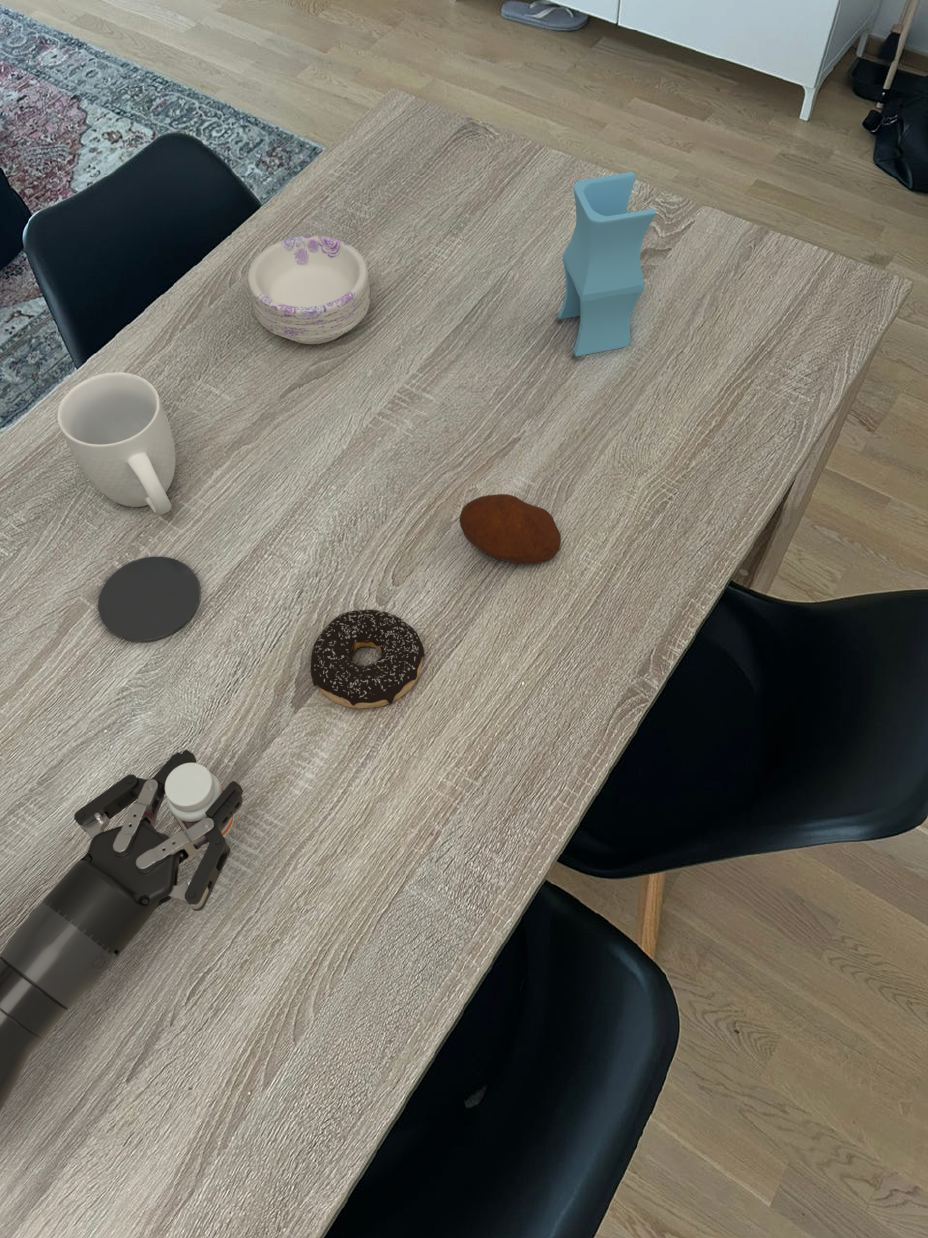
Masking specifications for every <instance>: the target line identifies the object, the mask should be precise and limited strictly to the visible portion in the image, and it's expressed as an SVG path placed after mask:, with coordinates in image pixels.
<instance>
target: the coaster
mask: <svg viewBox="0 0 928 1238" xmlns="http://www.w3.org/2000/svg"><path fill="white" fill-rule="evenodd" d="M200 586H201V585H200V583H199V580H198V578H197V575H196V574H195V573H194V571H193V570H192V569H191V568H190V567H189V566H188V565H186V564H185V563H183V562H182V561H180V560H178V559H175V558H171V557H167V556H146V557H142V558H139V559H136V560H133V561H130V562H128V563H126V564H125V565H122V566H121V567H120V568H118V569H117V570H115V572H113V573H112V574H111V575H110V576H109V577H108V579H107V580H106V581H105V583H104V584H103V585H102V588H101V590H100V593H99V596H98V601H97V607H98V609H97V611H98V614H99V617H100V618H99V619H100V620H101V622H102V624H103V625H104V626H105V628H106V629H107V630H108V631H109V632H110V633H111V634H113V635H114V636H115V637H117V638H119V639H121V640H124V641H128V642H131V643H153V642H156V641H157V642H158V641H160V640H163V639H166V638H169V637H170V636H173V635H174V634H176V633H178V632H179V631H180V630H182V629H183V628H184V627H185V626H187V625H188V624H189V622H190V621H191V620H192V619H193V617H194V616H195V614H196V612H197V610H198V608H199V604H200V601H201V587H200Z"/></svg>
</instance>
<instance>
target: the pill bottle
mask: <svg viewBox="0 0 928 1238" xmlns="http://www.w3.org/2000/svg"><path fill="white" fill-rule="evenodd" d="M224 790H225V789H224V788H223V786H222V784H221V782H220V780H219V778H218V777H217V776H216V775H215V774H213V773H212V772H210V771H209V769H208V768H207V767H206V766H204V765H202V763H201V764H200V763H197V762H196V763H185V764H182V765H180V766H178V767H176V768H175V769H174V770H173V771H172V772H171V773H170V774H169V775H168V777H167V779H166V782H165V797H166V805H167V808H168V810H169V812H170V814H171V815H172V816H173V818H174V819H175V821H176V822H177V824H178V825H179V828H180V829H181V831H182V830H187V829H189V828H190V827H192V826H193V825H195V824H196V823H198V822H199V821H201V820H202V819H204V818H206V817H207V816H206V814H205V812H206V811H207V810H208V809H209V808H210V806H211V805H212V804H213V803H214V802H215V800H216V799H217V798H218V797H219V796H220V794H221V793H222V792H223V791H224ZM234 821H235V814H234V815H233V816H232V817H231V818H230V820H229V821H228V822H227V823H226V824H225V826H224V827H223V829H222V836H223V837H224V838H225V837H226V836H227V835H228V834H229V832H230V831H231V829H232V828H233V825H234Z"/></svg>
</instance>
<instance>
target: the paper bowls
mask: <svg viewBox="0 0 928 1238" xmlns="http://www.w3.org/2000/svg"><path fill="white" fill-rule="evenodd" d="M247 286H248V289H249V290H248V291H249V297H250V301H251V307H252V309H253V312H254V315H255V317H256V319H257V321H258V322H259V323H260V324H261V325H262V327H264V328H265V329H266V330H268V331H269V332H271V333H272V334H274V335H276V336H280V337H282V338H285V339H287V340H290V341H293V342H295V343H298V344H303V345H321V344H325V343H329V342H332V341H334V340H337V339H338V338H339V337H341V336H343V335H344V334H345V333H348V332H349V331H351V330H352V329H354V328H355V327H356V326H358V324H360V323H361V322H362V320H363V319H364V318H365V317H366V316H367V314H368V312H369V308H370V305H371V289H370V278H369V270H368V265H367V263H366V260H365V258H364V257H363V256H362V254H361V253H360V252H359V251H358V250H357V249H356V248H355V247H353V246H352V245H351V244H349V243H347V242H346V241H343V240H340V239H338V238H334V237H331V236H325V235H324V236H323V235H300V236H293V237H290V238H286V239H283V240H280V241H277V242H275V243H273V244H271V245H270V246H268V247H266V248H264V249H263V250H262V251H261V252H260V253H258V254H257V256H256V257H255V258H254V259H253V261H251V265H250V266H249V269H248V271H247Z"/></svg>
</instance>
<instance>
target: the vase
mask: <svg viewBox="0 0 928 1238" xmlns="http://www.w3.org/2000/svg"><path fill="white" fill-rule="evenodd" d="M636 177H637V176H636V173H635V172H634V171H628V172H622V173H617V174H610V175H604V176H599V177H592V178H586V179H582V180H579V181H577V182H576V183H575V184H574V185H573V196H574V202H575V216H576V218H575V227H574V230H573V233H572V237H571V239H570V240H569V242H568V245H567V247H566V248H565V250H564V252H563V255H562V263H563V269H564V276H565V277H564V278H565V293H564V298H563V302H562V305H561V308H560V309H559V312H558V314H557V317H558V319H559V320H565V319H571V318H575V317H580V318H579V326H578V331H577V337H576V340H575V346H574V349H573V354H574V356H575V357H580V356H586V355H592V354H597V353H603V352H606V351H607V352H608V351H613V350H617V349H622V348H623V349H624V348H626V347H628V346H629V345H630V344H631V322H632V321H631V320H632V316H633V313H634V310H635V307H636V306H637V303H638V301H639V300H640V299H641V297H642V294H643V292H644V290H645V280H644V276H643V271H642V263H641V251H642V245H643V241H644V238H645V236H646V234H647V231H648V230H649V227H650V226H651V224H652V222H653V220H654V219H655V217H656V215H657V212H656V210H655V208H648V209H642V210H636V211H632V212H627V211H628V208H629V202H630V198H631V196H632V192H633V187H634V185H635V181H636Z"/></svg>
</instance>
